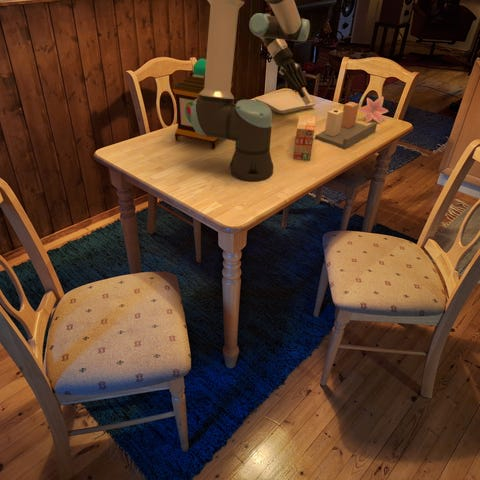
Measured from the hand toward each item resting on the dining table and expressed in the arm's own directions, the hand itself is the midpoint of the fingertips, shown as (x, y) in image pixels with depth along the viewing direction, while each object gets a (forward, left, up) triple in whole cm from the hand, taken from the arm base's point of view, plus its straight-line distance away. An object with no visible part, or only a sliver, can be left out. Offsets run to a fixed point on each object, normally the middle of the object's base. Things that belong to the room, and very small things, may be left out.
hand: (309, 103), depth 172 cm
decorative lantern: (-38, +22, -11) cm, 46 cm away
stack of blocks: (-18, -11, -11) cm, 24 cm away
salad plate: (+14, +22, -11) cm, 28 cm away
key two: (+11, -14, -9) cm, 19 cm away
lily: (+28, -16, -11) cm, 34 cm away
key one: (-1, -14, -9) cm, 16 cm away
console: (+5, -17, -10) cm, 20 cm away
